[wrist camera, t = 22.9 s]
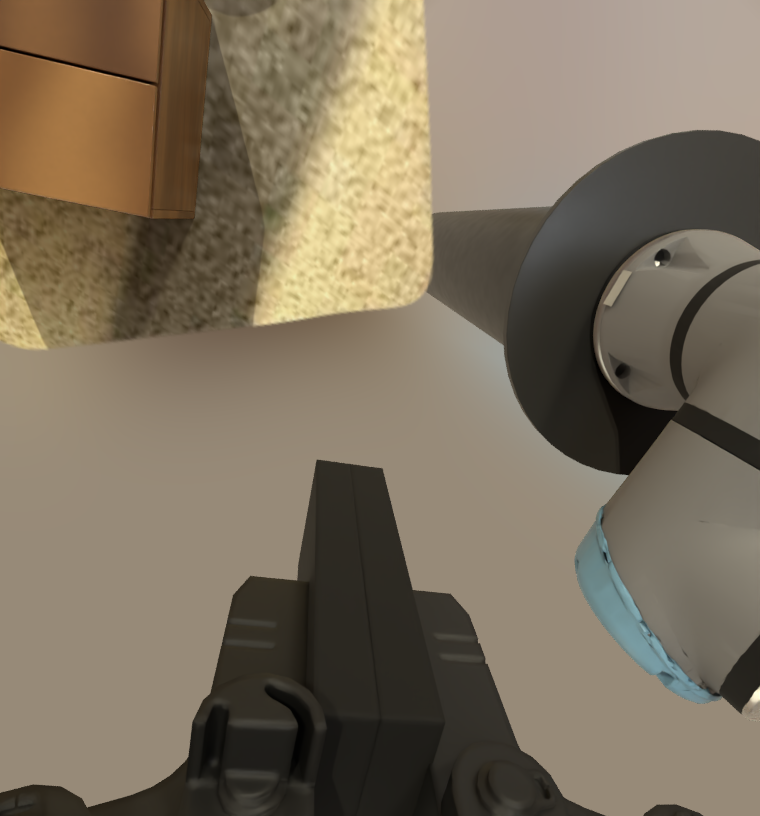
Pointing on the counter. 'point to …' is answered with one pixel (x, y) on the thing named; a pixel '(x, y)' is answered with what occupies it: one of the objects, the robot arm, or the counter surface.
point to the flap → (76, 134)
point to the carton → (132, 70)
